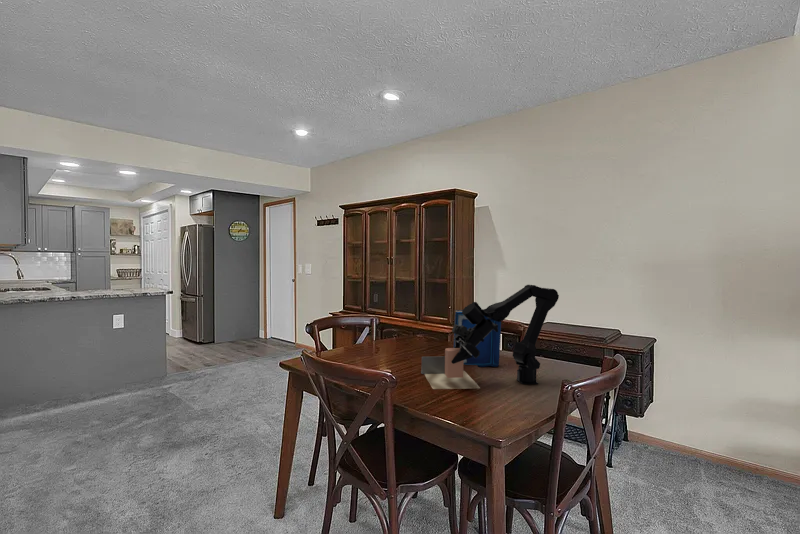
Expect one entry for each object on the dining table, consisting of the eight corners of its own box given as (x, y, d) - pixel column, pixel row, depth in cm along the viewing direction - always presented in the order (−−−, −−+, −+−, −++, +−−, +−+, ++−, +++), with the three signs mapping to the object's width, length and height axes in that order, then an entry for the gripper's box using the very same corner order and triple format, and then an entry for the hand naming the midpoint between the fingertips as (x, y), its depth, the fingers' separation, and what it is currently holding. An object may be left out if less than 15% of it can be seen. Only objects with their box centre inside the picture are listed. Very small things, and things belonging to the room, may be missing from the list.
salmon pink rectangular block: (460, 373, 164) (460, 348, 164) (463, 377, 159) (463, 350, 159) (444, 374, 163) (445, 348, 163) (447, 377, 158) (447, 351, 158)
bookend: (448, 371, 179) (449, 355, 179) (450, 373, 176) (450, 356, 176) (420, 372, 178) (421, 355, 178) (421, 373, 175) (422, 357, 175)
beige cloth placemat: (464, 373, 181) (464, 370, 181) (480, 390, 157) (480, 388, 157) (422, 373, 179) (422, 371, 179) (432, 391, 155) (432, 388, 155)
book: (499, 364, 197) (500, 310, 197) (501, 368, 190) (502, 312, 190) (452, 362, 199) (453, 309, 199) (453, 366, 192) (454, 311, 192)
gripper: (459, 313, 170) (431, 341, 169) (471, 320, 152) (440, 352, 151) (477, 333, 171) (450, 360, 170) (492, 342, 153) (462, 373, 152)
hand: (450, 361), depth 161 cm, fingers closed on salmon pink rectangular block, 5 cm apart
